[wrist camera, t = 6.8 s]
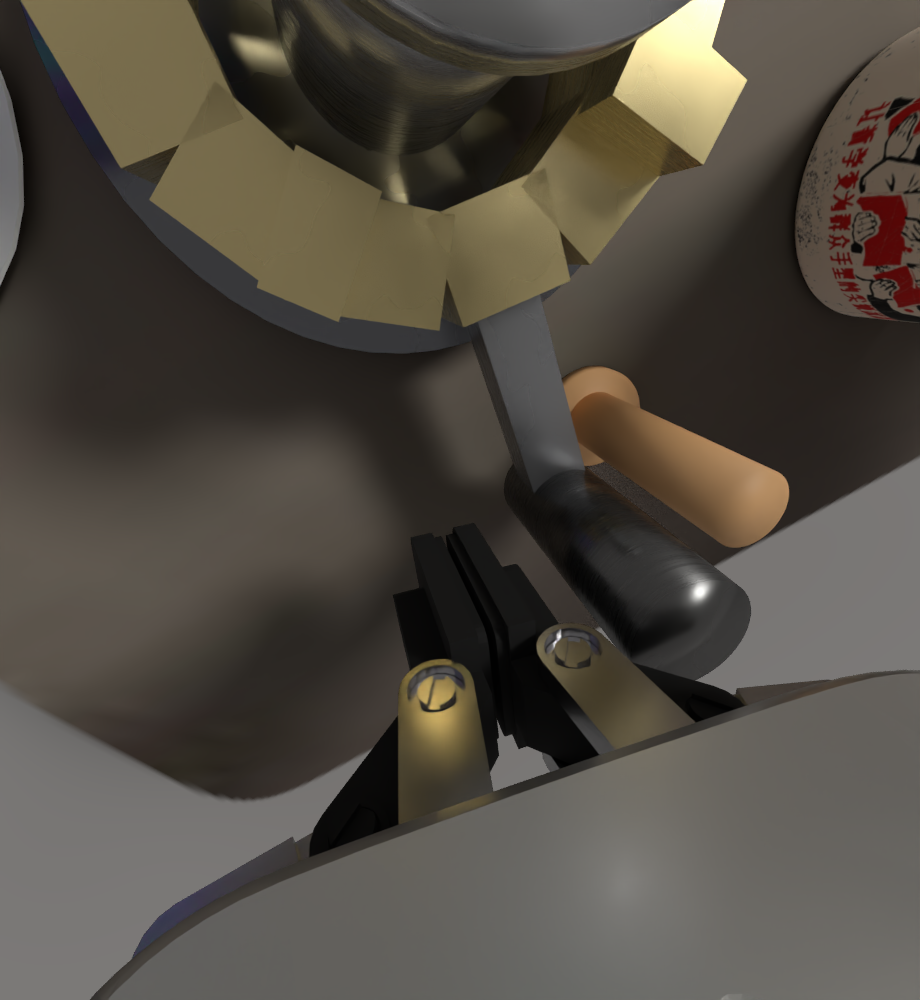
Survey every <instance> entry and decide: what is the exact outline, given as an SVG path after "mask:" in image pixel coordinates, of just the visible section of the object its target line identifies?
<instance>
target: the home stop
mask: <svg viewBox="0 0 920 1000" xmlns="http://www.w3.org/2000/svg"><path fill="white" fill-rule="evenodd" d="M562 382H563V386H564V390H565V394H566V398H567V402H568V406H569V409H570V413H571V417H572V421H573V425H574V429H575V433H576V436H577V440H578V444H579V448H580V452H581V456H582V460H583V463H584V466H591V465H596V464H600V463H602V462H606V463H608V464H609V465H611V466H612V467H614V468H615V469H616V470H618V471H619V472H621V473H622V474H623V475H625V476H626V477H628V478H629V479H631V480H632V481H633V482H635V483H636V484H638V485H639V486H640V487H642V488H643V489H645V490H646V491H647V492H649V493H650V494H652V495H653V496H655V497H656V498H657V499H659V500H660V501H662V502H663V503H664V504H666V505H667V506H669V507H670V508H671V509H673V510H674V511H676V512H677V513H679V514H680V515H681V516H683V517H684V518H686V519H687V520H688V521H690V522H691V523H693V524H694V525H695V526H697V527H698V528H700V529H701V530H703V531H704V532H705V533H707V534H708V535H710V536H711V537H712V538H714V539H715V540H717V541H718V542H719V543H721V544H723V545H724V546H727V547H731V548H739V547H744V546H748V545H750V544H753V543H755V542H756V541H758V540H760V539H761V538H763V537H764V536H765V535H767V534H768V533H769V532H770V531H771V530H772V529H773V528H774V527H775V526H776V524H777V523H778V522H779V520H780V519H781V517H782V515H783V513H784V511H785V509H786V507H787V503H788V499H789V486H788V483H787V481H786V479H785V477H784V476H783V475H782V474H780V473H779V472H777V471H775V470H773V469H770V468H768V467H766V466H764V465H762V464H760V463H757V462H755V461H753V460H751V459H749V458H747V457H744V456H742V455H740V454H738V453H736V452H734V451H731V450H729V449H727V448H725V447H723V446H721V445H718V444H716V443H714V442H712V441H710V440H708V439H705V438H703V437H701V436H699V435H697V434H695V433H692V432H690V431H688V430H686V429H684V428H682V427H679V426H677V425H675V424H673V423H671V422H669V421H666V420H664V419H662V418H660V417H658V416H656V415H653V414H651V413H649V412H647V411H645V410H643V409H640V402H639V396H638V393H637V390H636V388H635V386H634V385H633V383H632V382H631V381H630V380H629V379H628V378H627V377H626V376H625V375H623V374H621V373H620V372H617V371H615V370H612V369H609V368H606V367H603V366H587V367H583V368H580V369H577V370H575V371H573V372H571V373H569V374H568V375H567V376H565V377H564V378H563V379H562Z"/></svg>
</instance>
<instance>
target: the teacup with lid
mask: <svg viewBox="0 0 920 1000" xmlns="http://www.w3.org/2000/svg"><path fill="white" fill-rule="evenodd" d="M795 244H796V252H797V257H798V262H799V266H800V269H801V271H802V274H803V277H804V279H805V281H806V283H807V285H808V287H809V288H810V290H811V291H812V293H813V294H814V295H815V296H816V297H817V298H818V299H819V300H820V301H821V302H822V303H823V304H824V305H826V306H827V307H829V308H830V309H832V310H834V311H836V312H839V313H841V314H845V315H849V316H856V317H865V318H875V319H885V320H895V321H905V322H915V323H920V27H919V28H917V29H915V30H913V31H911V32H909V33H907V34H906V35H904V36H902V37H901V38H899V39H898V40H896V41H895V42H893V43H892V44H891V45H889V46H888V47H887V48H886V49H884V50H883V51H882V52H881V53H880V54H879V55H878V56H876V57H875V58H874V59H873V60H872V61H871V62H870V63H869V64H868V65H867V66H866V67H865V68H864V69H863V70H862V71H861V72H860V73H859V74H858V75H857V77H856V78H855V79H854V80H853V82H852V83H851V84H850V85H849V86H848V88H847V89H846V91H845V92H844V93H843V95H842V96H841V98H840V99H839V100H838V102H837V103H836V105H835V107H834V108H833V110H832V112H831V113H830V115H829V116H828V118H827V120H826V122H825V124H824V126H823V127H822V129H821V131H820V133H819V135H818V138H817V140H816V142H815V144H814V146H813V149H812V151H811V154H810V156H809V159H808V162H807V165H806V168H805V171H804V174H803V178H802V182H801V186H800V190H799V195H798V201H797V207H796V216H795Z"/></svg>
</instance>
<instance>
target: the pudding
mask: <svg viewBox="0 0 920 1000" xmlns="http://www.w3.org/2000/svg"><path fill="white" fill-rule="evenodd" d="M23 208H24V188H23V155H22V150H21V145H20V140H19V135H18V130H17V125H16V120H15V116H14V111H13V106H12V101H11V98H10V95H9V92H8V89H7V87H6V84H5V81H4V78H3V76H2V73H1V70H0V285H1V283H2V280H3V278H4V276H5V274H6V271H7V269H8V267H9V264H10V262H11V260H12V258H13V255H14V253H15V251H16V247H17V241H18V236H19V230H20V225H21V219H22V214H23Z"/></svg>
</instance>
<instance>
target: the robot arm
mask: <svg viewBox="0 0 920 1000" xmlns="http://www.w3.org/2000/svg"><path fill="white" fill-rule="evenodd" d="M446 541H447V547H446V545H445V543H444V541H443V539H442V537H441V536H440V537H436V538H434V536H433V534H432V533H428V534H424V535H420V536H416V537H411V545H412V550H413V556H414V561H415V567H416V572H417V577H418V583H419V588H418V589H414V590H410V591H406V592H402V593H398V594H394V595H393V598H394V602H395V607H396V612H397V616H398V621H399V625H400V630H401V634H402V639H403V643H404V648H405V652H406V656H407V660H408V664H409V669H410V672H408V673H407V674H406V675H405V677H404V679H403V680H402V682H401V684H400V687H399V693H398V716H397V717H396V719H395V720H394V721H393V723H392V724H391V725H390V727H389V728H388V729H387V731H386V732H385V733H384V735H383V736H382V737H381V738H380V740H379V741H378V742H377V744H376V745H375V746H374V748H373V749H372V750H371V752H370V753H369V754H368V756H367V757H366V758H365V759H364V761H363V762H362V764H361V765H360V766H359V767H358V769H357V770H356V771H355V773H354V774H353V775H352V777H351V778H350V779H349V781H348V782H347V783H346V784H345V786H344V787H343V788H342V790H341V791H340V792H339V794H338V795H337V796H336V798H335V799H334V800H333V801H332V803H331V804H330V805H329V807H328V808H327V809H326V811H325V812H324V813H323V815H322V816H321V818H320V820H319V821H318V823H317V825H316V826H315V828H314V830H313V833H311V834H309V835H307V836H306V837H304V838H302V839H301V840H299V841H297V842H295V841H294V839H293V837H291V838H289V839H288V840H286V841H284V842H283V843H281V844H279V845H277V846H276V847H274V848H272V849H270V850H269V851H267V852H265V853H263V854H262V855H260V856H258V857H256V858H255V859H253V860H251V861H249V862H248V863H246V864H244V865H242V866H241V867H239V868H237V869H235V870H234V871H232V872H230V873H229V874H227V875H225V876H223V877H222V878H220V879H218V880H216V881H215V882H213V883H211V884H209V885H208V886H206V887H204V888H202V889H201V890H199V891H197V892H196V893H194V894H192V895H190V896H188V897H187V898H185V899H183V900H182V901H180V902H178V903H176V904H175V905H174V906H172V907H171V908H170V909H168V910H167V911H166V912H164V913H163V914H162V915H161V916H159V917H158V918H157V920H156V921H155V922H154V923H153V924H152V925H151V927H150V928H149V929H148V930H147V931H146V933H145V934H144V935H143V937H142V939H141V941H140V943H139V945H138V947H137V949H136V951H135V952H134V955H133V957H132V959H131V960H130V961H129V962H128V963H127V964H126V965H125V966H124V967H122V968H121V969H120V970H119V971H118V972H117V973H116V974H115V975H114V976H113V977H112V978H111V979H110V980H108V982H107V983H105V984H104V985H103V986H102V987H101V988H100V989H99V990H98V991H97V992H96V993H95V994H94V996H93V997H92V998H91V999H90V1000H920V670H897V671H884V672H871V673H865V674H859V675H853V676H848V677H842V678H838V679H834V680H819V681H809V682H798V683H789V684H778V685H767V686H757V687H747V688H737V690H736V694H735V695H732V694H730V693H729V692H727V691H725V690H722V689H719V688H717V687H715V686H711V685H708V684H705V683H701V682H698V681H695V680H691V679H688V678H684V677H681V676H677V675H674V674H671V673H667V672H664V671H660V670H657V669H653V668H650V667H647V666H643V665H640V664H636V663H633V662H631V661H630V660H629V659H628V658H627V657H626V656H625V655H623V654H622V653H621V652H620V651H619V650H618V649H617V648H616V647H615V646H614V645H613V644H611V642H610V641H608V639H606V638H605V637H604V636H603V635H602V634H601V633H599V632H598V631H597V630H595V629H594V628H591V627H589V626H586V625H584V624H577V623H561V624H559V623H558V622H557V620H556V619H555V617H554V616H553V615H552V613H551V612H550V610H549V609H548V607H547V606H546V604H545V603H544V602H543V600H542V599H541V597H540V596H539V594H538V593H537V591H536V590H535V589H534V587H533V586H532V584H531V583H530V581H529V580H528V578H527V577H526V576H525V574H524V573H523V571H522V570H521V568H520V567H519V566H518V565H517V564H513V565H509V566H505V567H502V566H501V565H500V563H499V561H498V560H497V558H496V557H495V555H494V554H493V552H492V550H491V549H490V547H489V546H488V544H487V543H486V541H485V539H484V538H483V536H482V535H481V533H480V531H479V530H478V528H477V527H476V525H475V524H474V523H472V524H467V525H463V526H459V527H454V528H453V534H449V535H446ZM447 548H448V549H447ZM497 720H498V723H499V725H500V728H501V730H502V732H503V734H504V736H508V735H511V734H512V735H513V737H514V739H515V742H516V744H517V746H518V749H520V748H523V747H526V746H528V747H531V748H533V749H535V750H538V751H540V752H542V755H543V759H544V761H545V764H546V766H547V768H548V769H549V770H550V772H549V773H546V774H544V775H541V776H538V777H535V778H532V779H529V780H526V781H523V782H520V783H517V784H514V785H512V786H508V787H506V788H503V789H500V790H497V791H494V792H493V787H492V781H491V776H490V771H491V769H492V767H493V766H494V764H495V762H496V760H497V758H498V756H499V752H498V743H497V739H498V738H499V734H498V726H497Z"/></svg>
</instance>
